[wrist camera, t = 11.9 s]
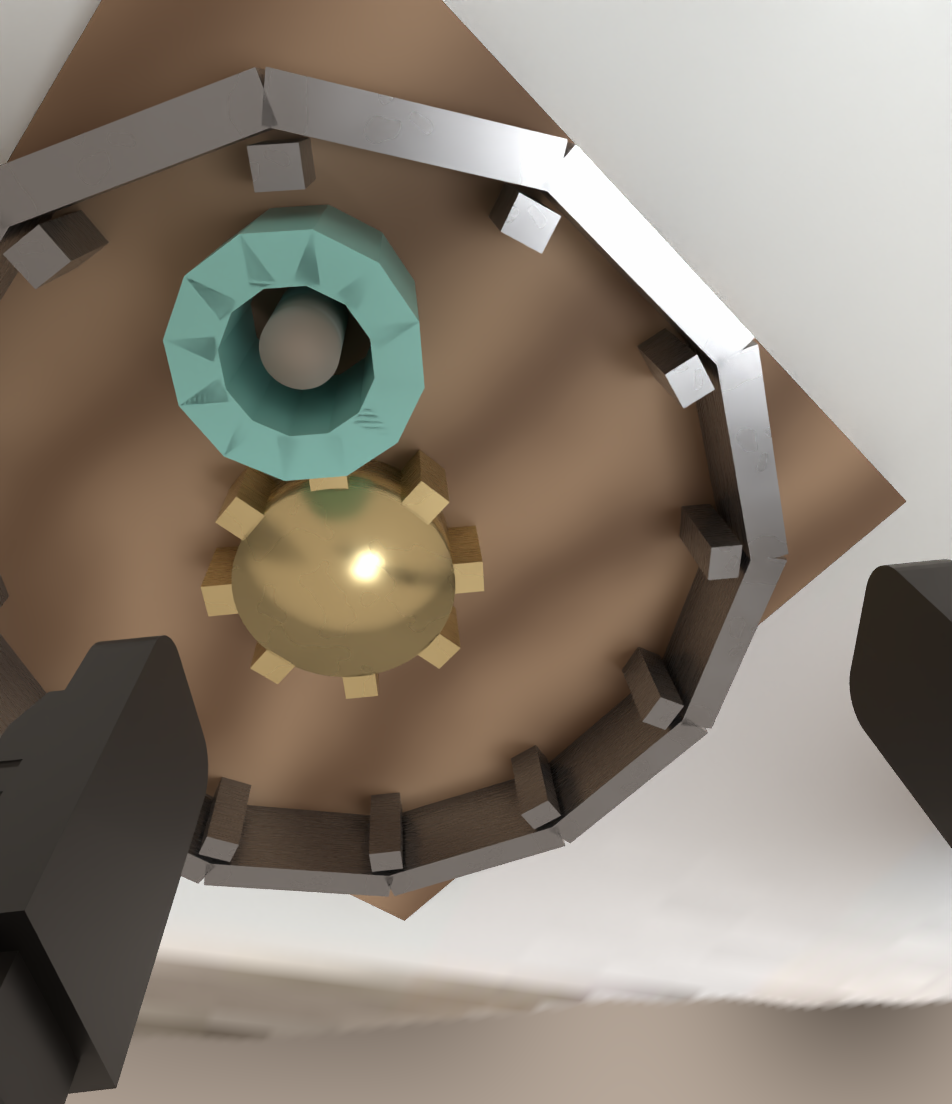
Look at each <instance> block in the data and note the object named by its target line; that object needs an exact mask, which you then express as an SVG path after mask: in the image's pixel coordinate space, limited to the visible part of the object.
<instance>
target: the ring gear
mask: <svg viewBox="0 0 952 1104" xmlns="http://www.w3.org/2000/svg"><path fill="white" fill-rule="evenodd" d="M273 129H278V130H282V131H286V132H291V133H295V134H300V135H304V136H308V137H313V138H317V139H321V140H326V141H330V142H335V143H339V144H343V145H348V146H352V147H357V148H361V149H365V150H370V151H374V152H378V153H383V154H387V155H392V156H396V157H400V158H405V159H409V160H413V161H418V162H422V163H427V164H431V165H435V166H440V167H444V168H449V169H453V170H457V171H462V172H466V173H470V174H475V175H479V176H484V177H488V178H492V179H497V180H501V181H505V183H504V185H503V187H502V189H501V191H500V194H499V196H498V198H497V200H496V202H495V204H494V206H493V208H492V210H491V212H490V215H489V218H490V219H491V220H492V222H493V223H494V224H495V225H496V227H497V228H498V229H499V230H500V231H501V232H502V233H504V234H506V235H508V236H510V237H512V238H513V239H515V240H517V241H519V242H521V243H523V244H525V245H526V246H528V247H530V248H532V249H534V250H536V251H538V252H539V253H541V254H542V253H543V251H544V249H545V247H546V245H547V243H548V241H549V239H550V237H551V235H552V233H553V231H554V229H555V227H556V225H557V223H558V221H559V220H560V218H561V216H560V215H559V214H558V213H556V212H555V211H553V210H552V209H550V208H549V207H547V206H546V205H544V204H543V203H541V202H539V201H538V200H536V199H534V198H532V197H531V196H529V195H527V194H525V193H523V192H522V191H520V190H518V189H516V188H515V187H513V186H511V185H509V184H507V183H506V182H510V183H514V184H519V185H523V186H527V187H532V188H536V189H538V190H539V191H540V192H541V193H542V194H543V195H544V196H545V197H546V198H547V199H548V200H549V201H550V202H551V203H552V204H553V205H554V206H555V207H556V208H557V209H558V210H559V211H560V212H561V213H562V214H563V215H564V216H565V217H566V219H567V220H568V221H569V222H570V223H571V224H572V225H573V226H574V227H575V228H576V229H577V230H578V231H579V232H580V233H581V234H582V235H583V236H584V237H585V238H586V239H587V240H588V241H589V242H590V243H591V244H592V245H593V246H594V247H595V248H596V249H597V250H598V251H599V252H600V253H601V254H602V255H603V256H604V257H605V258H606V259H607V260H608V261H609V262H610V263H611V264H612V265H613V266H614V268H615V269H616V270H617V271H618V272H619V273H620V274H621V275H622V276H623V277H624V278H625V279H626V280H627V281H628V282H629V283H630V284H631V285H632V286H633V287H634V288H635V289H636V290H637V291H638V292H639V293H640V294H641V295H642V296H643V297H644V298H645V299H646V300H647V301H648V302H649V303H650V304H651V305H652V306H653V307H654V308H655V309H656V310H657V311H658V312H659V313H660V314H661V316H662V317H663V318H664V319H665V320H666V321H667V322H668V323H669V324H670V325H671V326H672V327H673V328H674V329H675V330H676V331H677V332H678V333H679V334H680V335H681V336H682V337H683V338H684V343H683V342H682V341H680V340H679V339H678V338H677V337H676V336H674V335H673V334H672V333H671V332H670V331H668V330H667V329H666V328H665V329H663V330H661V331H660V332H658V333H657V334H655V335H654V336H652V337H651V338H649V339H647V340H646V341H644V342H643V343H641V344H640V345H638V346H637V347H638V349H639V351H640V353H641V355H642V356H643V358H644V360H645V362H646V364H647V366H648V367H649V369H650V371H651V373H652V375H653V376H654V378H655V379H656V380H657V381H658V382H659V383H660V384H661V385H662V386H663V387H664V388H665V390H666V391H667V392H668V393H669V394H670V395H671V396H672V397H673V398H674V399H675V400H676V401H677V402H678V403H679V404H680V405H681V407H682V408H683V409H684V408H685V407H687V406H689V405H690V404H692V403H694V402H695V401H696V406H697V411H698V417H699V422H700V427H701V432H702V438H703V443H704V448H705V453H706V458H707V464H708V469H709V474H710V479H711V485H712V490H713V495H714V500H715V505H716V511H717V512H716V511H715V509H714V508H713V507H712V506H711V504H700V505H688V506H682V509H681V521H680V534H679V537H680V538H681V540H682V541H683V543H684V544H685V546H686V547H687V549H688V551H689V552H690V554H691V555H692V557H693V558H694V560H695V561H696V563H697V564H698V566H699V567H698V570H697V573H696V575H695V578H694V580H693V583H692V585H691V588H690V590H689V593H688V595H687V598H686V601H685V603H684V606H683V608H682V611H681V613H680V616H679V618H678V621H677V623H676V626H675V629H674V631H673V634H672V636H671V639H670V641H669V644H668V646H667V649H666V651H665V654H664V656H663V659H661V657H660V655H658V654H656V653H653V652H650V651H648V650H645V649H643V648H640V647H638V648H637V649H636V651H635V652H634V653H633V655H632V656H631V658H630V659H629V660H628V662H627V663H626V665H625V666H624V667H623V669H622V672H623V674H624V677H625V679H626V682H627V684H628V687H629V689H630V692H631V693H630V694H629V695H628V696H627V697H626V698H624V699H623V700H622V701H621V702H620V703H619V704H617V705H616V706H615V707H614V708H613V709H612V710H610V711H609V712H608V713H607V714H606V715H604V716H603V717H602V718H601V719H600V720H599V721H597V722H596V723H595V724H594V725H593V726H592V727H590V728H589V729H588V730H587V731H586V732H585V733H583V734H582V735H581V736H580V737H579V738H578V739H576V740H575V741H574V742H573V743H572V744H571V745H569V746H568V747H567V748H566V749H565V750H564V751H562V752H561V753H560V754H559V755H558V756H557V757H555V758H554V759H553V760H552V761H551V762H550V763H549V761H548V759H547V758H546V756H545V755H544V754H543V753H542V752H541V750H540V749H539V748H538V747H537V746H536V745H535V746H533V747H531V748H529V749H527V750H525V751H524V752H522V753H520V754H518V755H516V756H514V757H513V758H511V762H512V768H513V773H514V779H511V780H508V781H505V782H501V783H498V784H495V785H491V786H488V787H485V788H482V789H478V790H475V791H472V792H468V793H465V794H462V795H458V796H455V797H452V798H449V799H445V800H442V801H439V802H435V803H432V804H429V805H425V806H422V807H419V808H416V809H412V810H409V811H406V812H402V804H401V796H400V792H398V793H388V794H378V795H371V810H370V815H363V814H351V813H339V812H326V811H314V810H302V809H289V808H277V807H265V806H253V805H247V803H248V799H249V794H250V789H251V785H249V784H246V783H242V782H239V781H235V780H232V779H228V778H225V777H222V778H221V780H220V783H219V785H218V787H217V789H216V791H215V793H214V796H213V797H212V796H210V795H208V794H205V798H204V801H203V804H202V808H201V811H200V814H199V818H198V821H197V824H196V827H195V831H194V834H193V837H192V841H191V844H190V847H189V850H188V854H187V857H186V860H185V864H184V867H183V870H182V873H181V876H182V877H185V878H187V879H189V880H191V881H194V882H196V883H199V882H200V881H201V880H202V879H203V878H204V877H205V881H204V885H212V886H228V887H243V888H259V889H275V890H291V891H306V892H322V893H338V894H354V895H369V896H385V897H389V893H390V889H391V891H392V893H393V894H394V896H397V895H400V894H403V893H407V892H410V891H414V890H417V889H420V888H424V887H427V886H430V885H434V884H437V883H441V882H444V881H447V880H451V879H454V878H458V877H461V876H464V875H468V874H471V873H475V872H478V871H481V870H485V869H488V868H492V867H495V866H498V865H502V864H505V863H509V862H512V861H515V860H519V859H522V858H525V857H529V856H532V855H536V854H539V853H542V852H546V851H549V850H553V849H556V848H559V847H563V846H565V843H564V840H566V841H567V842H569V843H571V842H572V841H574V840H575V839H576V838H577V837H579V836H580V835H581V834H582V833H584V832H585V831H586V830H587V829H589V828H590V827H591V826H592V825H594V824H595V823H596V822H597V821H599V820H600V819H601V818H602V817H604V816H605V815H606V814H607V813H609V812H610V811H611V810H612V809H614V808H615V807H616V806H617V805H618V804H620V803H621V802H622V801H623V800H625V799H626V798H627V797H628V796H630V795H631V794H632V793H633V792H635V791H636V790H637V789H638V788H640V787H641V786H642V785H643V784H645V783H646V782H647V781H648V780H650V779H651V778H652V777H653V776H655V775H656V774H657V773H658V772H660V771H661V770H662V769H663V768H665V767H666V766H667V765H668V764H670V763H671V762H672V761H673V760H675V759H676V758H677V757H678V756H680V755H681V754H682V753H683V752H685V751H686V750H687V749H688V748H690V747H691V746H692V745H693V744H695V743H696V742H697V741H698V740H700V739H701V738H702V737H703V736H705V735H706V734H707V731H706V728H712V726H713V724H714V722H715V719H716V717H717V715H718V713H719V710H720V708H721V706H722V704H723V702H724V699H725V697H726V695H727V693H728V691H729V688H730V686H731V684H732V682H733V679H734V677H735V675H736V673H737V671H738V668H739V666H740V664H741V662H742V659H743V657H744V655H745V653H746V651H747V648H748V646H749V644H750V642H751V640H752V637H753V635H754V633H755V631H756V628H757V626H758V624H759V622H760V620H761V617H762V615H763V613H764V611H765V608H766V606H767V604H768V602H769V600H770V597H771V595H772V593H773V591H774V589H775V586H776V584H777V582H778V580H779V577H780V575H781V573H782V571H783V569H784V566H785V564H786V562H787V559H786V558H785V557H784V556H783V555H786V554H788V548H787V541H786V534H785V528H784V521H783V514H782V507H781V500H780V493H779V486H778V479H777V472H776V465H775V458H774V451H773V444H772V437H771V430H770V423H769V416H768V409H767V402H766V396H765V389H764V382H763V375H762V368H761V361H760V354H759V347H758V344H757V343H755V342H754V341H752V340H753V339H754V338H755V337H754V336H753V335H752V334H751V333H750V332H749V330H748V329H747V328H746V327H745V326H744V325H743V324H742V323H741V322H740V321H739V320H738V319H737V317H736V316H735V315H734V314H733V313H732V312H731V311H730V310H729V309H728V308H727V307H726V306H725V305H724V303H723V302H722V301H721V300H720V299H719V298H718V297H717V296H716V295H715V294H714V293H713V292H712V290H711V289H710V288H709V287H708V286H707V285H706V284H705V283H704V282H703V281H702V280H701V279H700V278H699V276H698V275H697V274H696V273H695V272H694V271H693V270H692V269H691V268H690V267H689V266H688V265H687V264H686V262H685V261H684V260H683V259H682V258H681V257H680V256H679V255H678V254H677V253H676V252H675V251H674V249H673V248H672V247H671V246H670V245H669V244H668V243H667V242H666V241H665V240H664V239H663V238H662V237H661V235H660V234H659V233H658V232H657V231H656V230H655V229H654V228H653V227H652V226H651V225H650V224H649V223H648V221H647V220H646V219H645V218H644V217H643V216H642V215H641V214H640V213H639V212H638V211H637V210H636V208H635V207H634V206H633V205H632V204H631V203H630V202H629V201H628V200H627V199H626V198H625V197H624V196H623V194H622V193H621V192H620V191H619V190H618V189H617V188H616V187H615V186H614V185H613V184H612V183H611V181H610V180H609V179H608V178H607V177H606V176H605V175H604V174H603V173H602V172H601V171H600V170H599V169H598V167H597V166H596V165H595V164H594V163H593V162H592V161H591V160H590V159H589V158H588V157H587V156H586V155H585V153H584V152H583V151H582V150H581V149H580V148H579V147H578V146H577V145H576V144H573V143H568V142H567V140H568V139H564V138H560V137H556V136H552V135H548V134H544V133H539V132H535V131H531V130H527V129H523V128H519V127H515V126H510V125H506V124H502V123H498V122H494V121H490V120H486V119H481V118H477V117H473V116H469V115H465V114H461V113H456V112H452V111H448V110H444V109H440V108H436V107H432V106H427V105H423V104H419V103H415V102H411V101H407V100H403V99H398V98H394V97H390V96H386V95H382V94H378V93H374V92H369V91H365V90H361V89H357V88H353V87H349V86H345V85H340V84H336V83H332V82H328V81H324V80H320V79H316V78H311V77H307V76H303V75H299V74H295V73H291V72H287V71H282V70H278V69H274V68H270V67H266V68H265V69H261V68H257V67H254V68H251V69H249V70H246V71H244V72H241V73H238V74H236V75H233V76H231V77H228V78H225V79H223V80H220V81H218V82H215V83H213V84H210V85H207V86H205V87H202V88H200V89H197V90H194V91H192V92H189V93H187V94H184V95H181V96H179V97H176V98H174V99H171V100H169V101H166V102H163V103H161V104H158V105H156V106H153V107H150V108H148V109H145V110H143V111H140V112H137V113H135V114H132V115H130V116H127V117H125V118H122V119H119V120H117V121H114V122H112V123H109V124H106V125H104V126H101V127H99V128H96V129H93V130H91V131H88V132H86V133H83V134H81V135H78V136H75V137H73V138H70V139H68V140H65V141H62V142H60V143H57V144H55V145H52V146H49V147H47V148H44V149H42V150H39V151H37V152H34V153H31V154H29V155H26V156H24V157H21V158H18V159H16V160H13V161H11V162H8V163H5V164H3V165H0V300H1V299H2V297H3V296H4V294H5V292H6V291H7V289H8V287H9V286H10V284H11V283H12V281H13V279H14V278H15V276H16V275H17V273H18V271H19V272H20V273H21V274H22V275H23V277H24V278H25V279H26V280H27V281H28V282H29V283H30V284H31V285H32V286H33V287H34V288H35V289H37V288H39V287H41V286H43V285H45V284H47V283H49V282H51V281H53V280H55V279H57V278H58V277H60V276H62V275H64V274H66V273H68V272H70V271H72V270H74V269H76V268H78V267H79V266H80V265H81V264H83V263H84V262H85V261H86V260H88V259H89V258H90V257H91V256H93V255H94V254H95V253H96V252H98V251H99V250H100V249H101V248H103V247H104V246H105V245H107V244H108V243H109V242H108V241H107V239H106V238H105V237H104V236H103V235H102V233H101V232H100V231H99V230H98V229H97V228H96V226H95V225H94V224H93V223H92V222H91V221H90V219H89V218H88V217H87V216H86V215H85V213H84V212H83V211H82V210H80V211H77V212H74V213H71V214H68V215H65V216H62V217H59V218H56V219H53V220H51V218H52V217H53V215H54V213H55V212H56V211H59V210H62V209H64V208H67V207H69V206H72V205H75V204H77V203H80V202H83V201H85V200H88V199H91V198H93V197H96V196H98V195H101V194H104V193H106V192H109V191H112V190H114V189H117V188H120V187H122V186H125V185H128V184H130V183H133V182H135V181H138V180H141V179H143V178H146V177H149V176H151V175H154V174H157V173H159V172H162V171H164V170H167V169H170V168H172V167H175V166H178V165H180V164H183V163H186V162H188V161H191V160H193V159H196V158H199V157H201V156H204V155H207V154H209V153H212V152H215V151H217V150H220V149H222V148H225V147H228V146H230V145H233V144H236V143H238V142H241V141H244V140H246V139H249V138H251V137H254V136H257V135H259V134H262V133H265V132H267V131H270V130H273ZM247 150H248V156H249V162H250V168H251V174H252V179H253V185H254V191H255V193H256V192H271V191H286V190H302V189H306V188H307V187H308V186H309V185H310V184H311V183H312V182H313V181H314V180H315V179H316V176H315V169H314V162H313V154H312V147H311V140H310V138H298V139H282V140H265V141H262V142H258V143H255V144H251V145H248V146H247ZM50 220H51V221H50ZM8 597H9V594H8V592H7V589H6V587H5V585H4V582H3V580H2V577H1V575H0V607H1V606H2V605H3V604H4V602H5V601H6V600H7V598H8ZM46 694H47V693H46V692H45V690H44V689H43V688H42V686H41V685H40V684H39V683H38V681H37V680H36V679H35V678H34V676H33V675H32V674H31V672H30V671H29V670H28V669H27V667H26V666H25V665H24V663H23V662H22V661H21V660H20V658H19V657H18V656H17V654H16V653H15V652H14V651H13V649H12V648H11V647H10V645H9V644H8V643H7V642H6V640H5V639H4V638H3V637H2V635H1V634H0V737H1V736H2V734H3V733H4V731H5V730H6V728H7V727H8V725H10V724H11V723H12V722H13V721H14V720H16V719H17V718H18V717H19V716H20V715H22V714H23V713H24V712H25V711H26V710H28V709H29V708H30V707H31V706H32V705H34V704H35V703H36V702H37V701H38V700H40V699H41V698H42V697H43V696H44V695H46Z"/></svg>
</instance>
